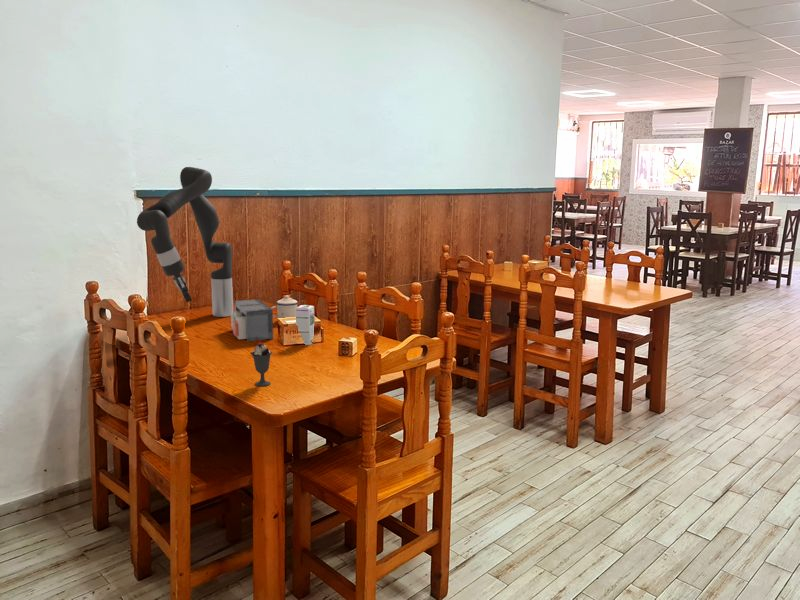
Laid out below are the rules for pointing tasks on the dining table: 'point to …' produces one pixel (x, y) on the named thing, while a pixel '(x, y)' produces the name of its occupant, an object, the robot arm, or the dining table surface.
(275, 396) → the dining table surface
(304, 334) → the syrup box
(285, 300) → the teacup with lid
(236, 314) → the pale greenish white box
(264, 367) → the sundae
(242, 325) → the white cube pink side
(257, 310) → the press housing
